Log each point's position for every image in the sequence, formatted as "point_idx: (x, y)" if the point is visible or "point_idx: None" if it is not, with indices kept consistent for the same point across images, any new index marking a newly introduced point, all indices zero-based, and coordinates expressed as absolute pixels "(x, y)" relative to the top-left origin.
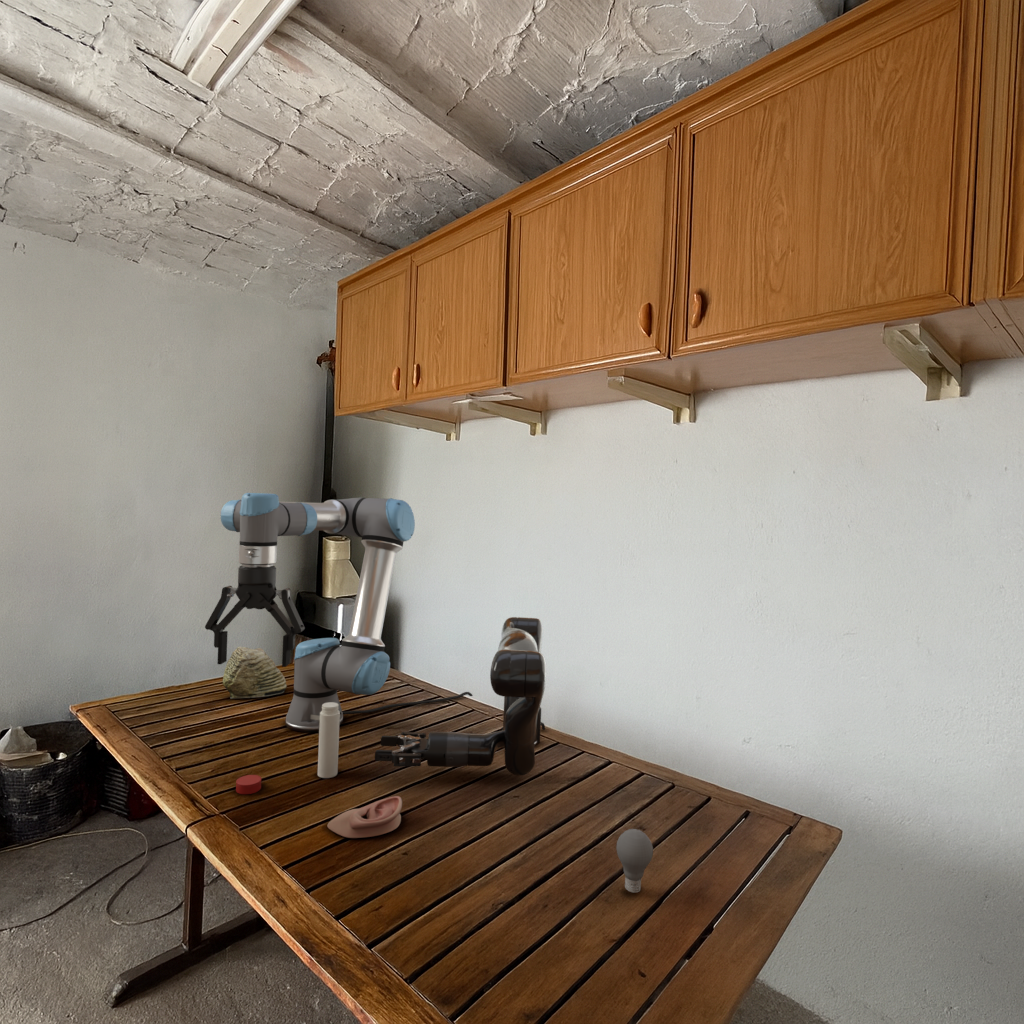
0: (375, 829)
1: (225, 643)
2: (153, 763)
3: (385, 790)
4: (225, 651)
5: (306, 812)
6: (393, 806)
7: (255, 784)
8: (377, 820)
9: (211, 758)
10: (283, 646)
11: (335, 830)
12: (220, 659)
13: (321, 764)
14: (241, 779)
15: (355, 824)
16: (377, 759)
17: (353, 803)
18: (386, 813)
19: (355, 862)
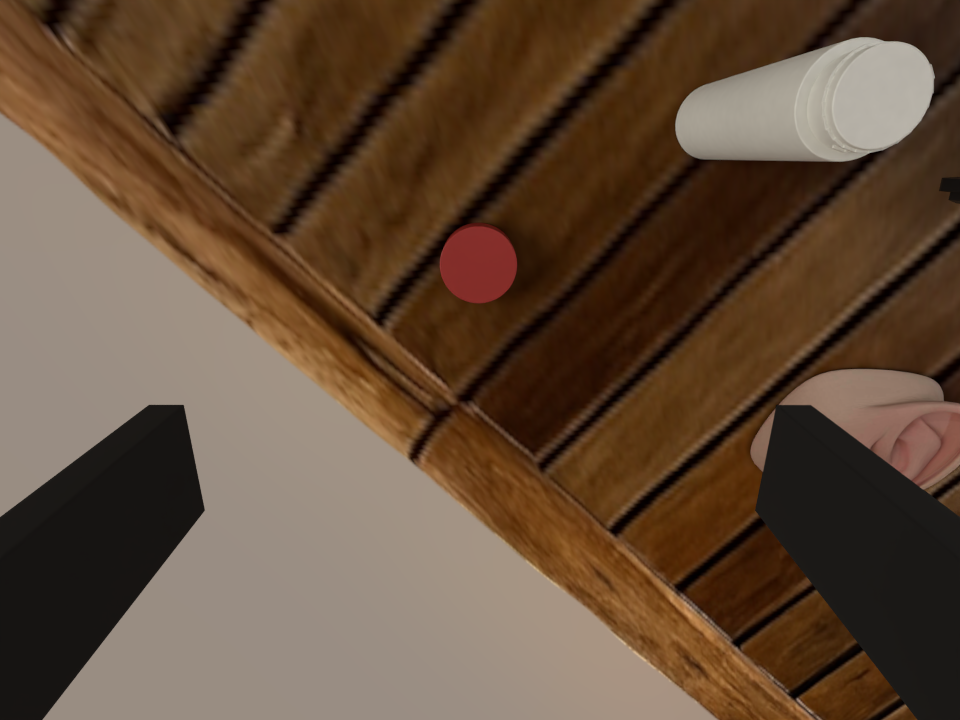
0: None
1: (63, 563)
2: (51, 79)
3: (911, 236)
4: (128, 489)
5: (683, 383)
6: (944, 423)
7: (508, 288)
8: None
9: (230, 7)
10: (888, 670)
11: None
12: (175, 538)
13: (709, 156)
14: (453, 265)
15: None
16: (952, 200)
17: (809, 326)
18: (921, 461)
19: None
